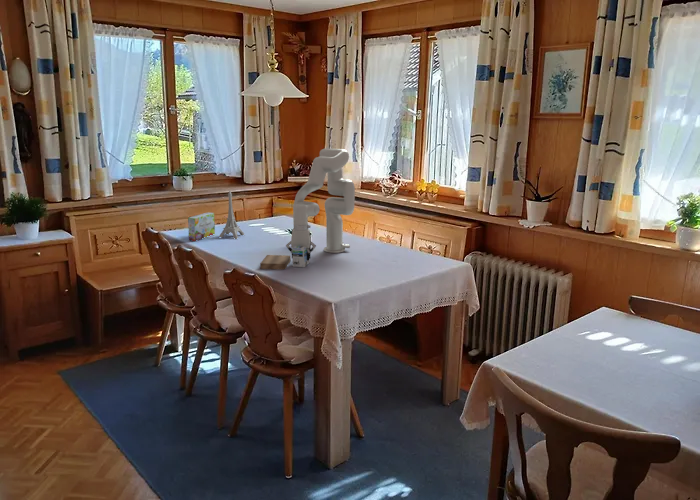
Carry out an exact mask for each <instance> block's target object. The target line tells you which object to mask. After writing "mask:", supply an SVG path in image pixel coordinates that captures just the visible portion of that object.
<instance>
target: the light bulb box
mask: <svg viewBox="0 0 700 500" xmlns="http://www.w3.org/2000/svg"><path fill="white" fill-rule="evenodd" d="M291 248H292V253H291V255H292V254H293V258H292V267H293V268H295V267H296V268H305V267H307V266H308V264H310V260H309V261H308V260H307V253H308V251H307V250H306V247H304V246H293V247H291Z"/></svg>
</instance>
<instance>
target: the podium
mask: <svg viewBox="0 0 700 500" xmlns="http://www.w3.org/2000/svg"><path fill="white" fill-rule="evenodd" d="M291 259H292V258H291V255H288V254H287V255H285V254H284V255H283V254H282V255H280V254H278V255H277V254H266V256H265V257H264V258H263V259H262V261H260V263H259V265H260V266H259V267H260V268H259V269H260V270H284V269H285V270H286V268H287V267H288V266H287V265H289V264H290V262H291Z"/></svg>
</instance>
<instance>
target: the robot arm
mask: <svg viewBox="0 0 700 500" xmlns="http://www.w3.org/2000/svg"><path fill="white" fill-rule="evenodd" d="M349 158H350V155H349V152H348V150H346V149H343V148H323V149H320V151H319V156H318V157H317V156H316V157H315V158H314V159H313V161H312V165H311V168H310V172H309V176H308V180H307V182H306V183H305V184H304V185H302V186H301V187H300V189H298V191H297V193H296V194H295V198H294V201H293V209H292V210H293V211H292V213H293V215H292V216H293V223H292V224H293V229H292V231H291V239H290V241H289V242H287V243H286V244H285V247H286V248H287V249H288V251H290V253H291V259H293V254H292V247H293V246H304V247H306V250H307V251H308V253H307V260H308V261H309V262H310V259H311V253H312V252H313V251H314V250H315V248H316V247H317V245H316V244H315V243H314V242H313V241H312V239H311V232H310V229H311V226H312V225H310V224H309V222H308V221H309V217H316V216H317V215H318V214H319V213H320V209H321V208H320V206H319V204H318V203H317V202H314V201H313V202H312V201H306V200H305V199H306V197H307V196H308V195H309V194H311V193H312V192H315V191H317V190H319V189H322V187H323V186H324V182H325V179H326V176H327V192H328V194H330V195H332V196H331V197H328V198H326V200H324V211H325V218H326V220H325V221H326V226H325V227H326V229H325V231H326V243H325V244H326V247H324V248H323V251H324V252H326V253H331V254H338V253H344V252H345V251H346V249H350V248H351V245H350V244H348V243H347V244H346V243H345V244H344V241H343V239H344V238H343V234H344V231H343V227H344V226H343V218H342V216H352V214H353V213H354V211H355V200H356V199H355V196H356V194H355V192H356V188H355V187H356V186H355V184H354V181H352V180H351V179H346V178H345V179H344V177H343V167H345V165H347V163H348V162H349V160H350V159H349ZM326 174H327V175H326ZM335 196H336V197H335ZM337 196H339V197H337ZM310 247H311V248H310Z"/></svg>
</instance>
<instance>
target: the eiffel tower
mask: <svg viewBox="0 0 700 500" xmlns="http://www.w3.org/2000/svg"><path fill="white" fill-rule="evenodd" d="M227 197H228V209H227V211H228V213H227V217H226V222H225V225H224V227H223V228H222V229H223V230H222V231H221V233H220V234H219V236H218V237H223V238H224V235H225V234H229V233H230V234H232V236H233V239H234V238H235V239H234V240H238V239H237V238H239V237H238V233H239V235H244V234H245V233H244V231H243V230H242V229H241V228H240V226H238V223H237V221H236V217H235V215H234V208H233V201H232V200H233V199H232V197H233V194H232V192H231V190H228V194H227ZM230 234H229V235H230ZM244 236H245V235H244Z"/></svg>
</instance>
